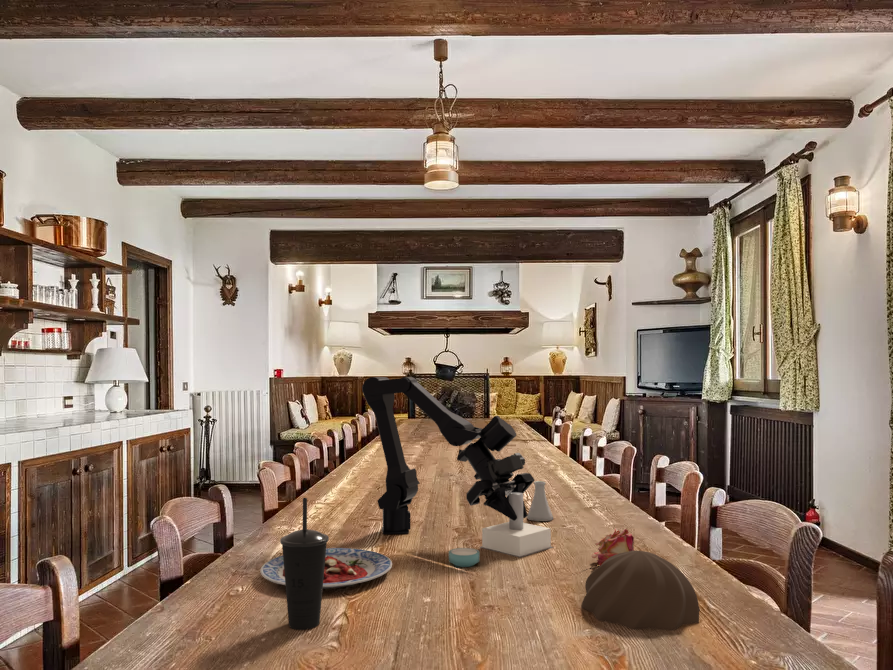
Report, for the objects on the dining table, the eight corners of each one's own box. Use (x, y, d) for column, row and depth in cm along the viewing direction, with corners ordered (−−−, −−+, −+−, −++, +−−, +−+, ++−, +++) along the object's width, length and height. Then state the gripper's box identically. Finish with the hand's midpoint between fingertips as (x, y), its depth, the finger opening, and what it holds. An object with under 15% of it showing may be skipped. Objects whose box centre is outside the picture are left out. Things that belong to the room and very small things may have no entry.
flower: (648, 556, 141) (626, 522, 144) (646, 558, 133) (622, 522, 136) (609, 580, 142) (587, 546, 146) (604, 584, 134) (582, 548, 137)
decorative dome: (716, 634, 105) (714, 568, 105) (585, 628, 107) (584, 564, 108) (687, 593, 124) (686, 538, 124) (577, 589, 126) (576, 535, 127)
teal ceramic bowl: (451, 570, 137) (451, 556, 138) (446, 561, 144) (446, 548, 144) (482, 569, 138) (482, 555, 138) (476, 560, 145) (476, 547, 145)
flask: (552, 522, 180) (552, 484, 181) (525, 521, 182) (525, 483, 182) (554, 516, 187) (553, 480, 188) (527, 515, 189) (527, 479, 189)
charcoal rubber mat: (479, 548, 154) (479, 547, 154) (513, 539, 162) (513, 537, 162) (520, 559, 145) (520, 557, 145) (553, 548, 154) (553, 547, 154)
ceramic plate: (278, 606, 118) (278, 589, 118) (248, 568, 140) (248, 553, 141) (413, 584, 129) (413, 568, 130) (365, 552, 152) (365, 539, 152)
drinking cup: (283, 616, 112) (284, 494, 113) (330, 614, 113) (330, 493, 114) (275, 634, 105) (277, 503, 106) (325, 632, 105) (326, 502, 106)
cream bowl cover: (482, 547, 154) (481, 493, 155) (513, 538, 162) (513, 487, 162) (519, 556, 146) (519, 500, 147) (550, 547, 154) (550, 493, 154)
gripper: (475, 445, 151) (513, 502, 143) (527, 439, 164) (566, 490, 156) (450, 476, 157) (486, 533, 148) (503, 468, 170) (539, 520, 161)
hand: (521, 518), depth 153 cm, fingers closed on cream bowl cover, 3 cm apart
